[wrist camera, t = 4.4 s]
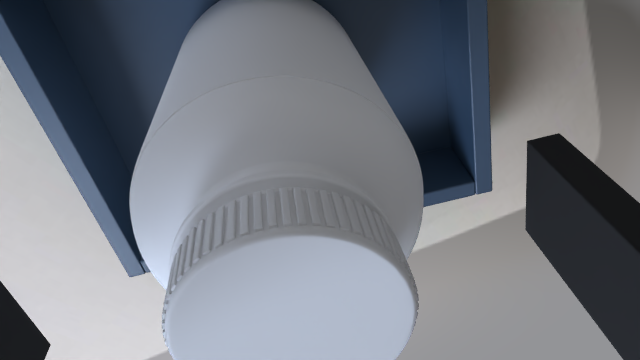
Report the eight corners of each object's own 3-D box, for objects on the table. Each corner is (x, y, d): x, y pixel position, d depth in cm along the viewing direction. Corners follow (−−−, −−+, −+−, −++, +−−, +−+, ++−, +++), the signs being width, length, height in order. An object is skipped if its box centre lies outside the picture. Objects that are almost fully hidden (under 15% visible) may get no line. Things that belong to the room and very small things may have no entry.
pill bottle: (383, 103, 24) (524, 363, 12) (241, 176, 25) (228, 482, 13) (306, -56, 20) (391, 77, 7) (141, 41, 21) (-23, 296, 9)
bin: (443, -148, 19) (484, -151, 16) (462, 149, 27) (492, 191, 23) (9, -38, 20) (-43, -17, 16) (145, 225, 27) (129, 277, 24)
